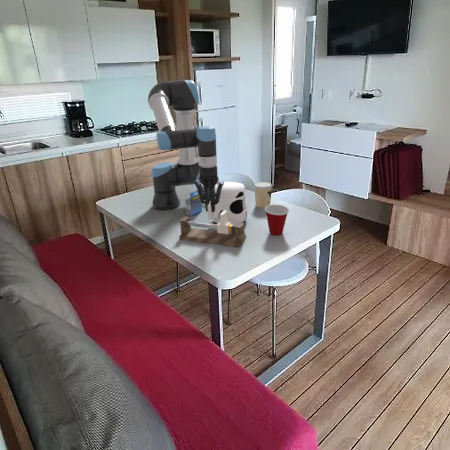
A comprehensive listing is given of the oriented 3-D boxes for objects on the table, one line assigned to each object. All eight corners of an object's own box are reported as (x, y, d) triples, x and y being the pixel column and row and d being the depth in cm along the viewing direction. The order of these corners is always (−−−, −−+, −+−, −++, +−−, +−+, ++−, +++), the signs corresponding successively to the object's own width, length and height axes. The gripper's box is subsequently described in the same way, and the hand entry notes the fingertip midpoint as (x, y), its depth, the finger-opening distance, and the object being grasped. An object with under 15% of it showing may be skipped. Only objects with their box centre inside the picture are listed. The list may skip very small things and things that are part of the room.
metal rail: (183, 228, 163) (183, 220, 162) (187, 225, 166) (186, 217, 165) (238, 234, 154) (238, 227, 153) (241, 231, 157) (241, 223, 156)
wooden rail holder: (179, 239, 162) (177, 222, 159) (188, 230, 171) (187, 214, 168) (239, 247, 153) (238, 230, 150) (246, 237, 161) (246, 220, 158)
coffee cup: (272, 208, 192) (272, 186, 187) (254, 209, 192) (254, 187, 188) (270, 202, 201) (270, 181, 196) (253, 202, 201) (253, 182, 196)
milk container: (207, 218, 183) (205, 184, 176) (238, 212, 189) (237, 179, 182) (220, 231, 168) (218, 194, 161) (253, 224, 174) (253, 188, 167)
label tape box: (196, 209, 196) (195, 187, 191) (202, 210, 193) (201, 188, 188) (186, 214, 189) (184, 192, 184) (192, 216, 187) (190, 193, 182)
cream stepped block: (216, 233, 157) (215, 214, 153) (221, 228, 161) (220, 209, 158) (227, 234, 155) (226, 215, 152) (231, 230, 160) (230, 211, 156)
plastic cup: (282, 240, 157) (283, 214, 153) (260, 235, 163) (260, 210, 158) (292, 230, 166) (293, 206, 161) (270, 226, 171) (271, 202, 166)
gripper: (189, 167, 148) (193, 220, 157) (219, 168, 143) (222, 223, 153) (197, 162, 154) (200, 213, 164) (226, 164, 150) (228, 216, 160)
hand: (211, 218), depth 158 cm, fingers closed
